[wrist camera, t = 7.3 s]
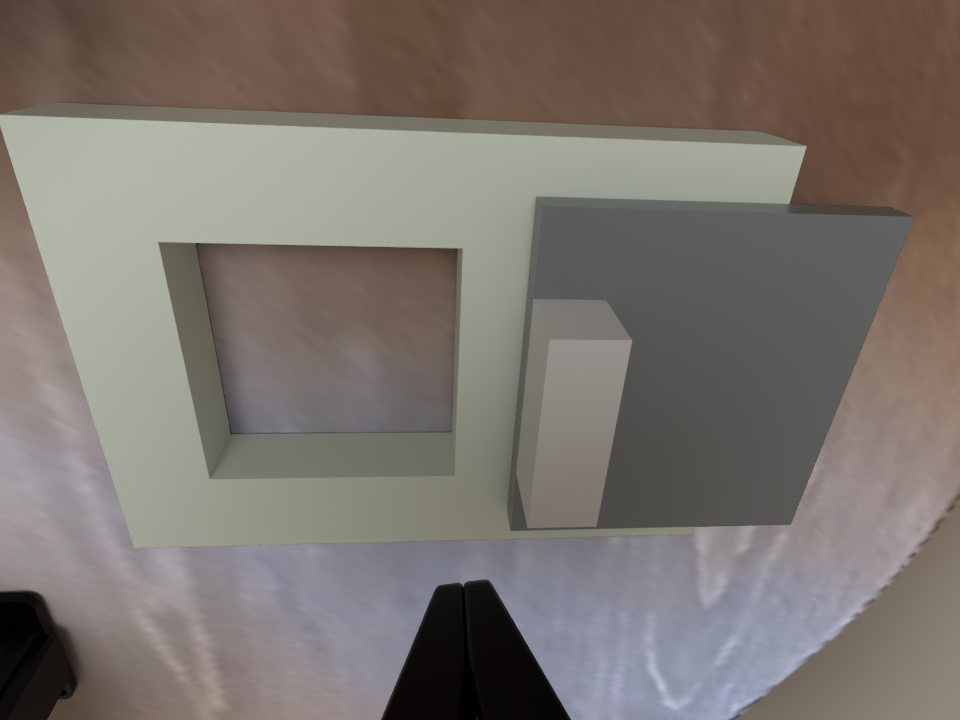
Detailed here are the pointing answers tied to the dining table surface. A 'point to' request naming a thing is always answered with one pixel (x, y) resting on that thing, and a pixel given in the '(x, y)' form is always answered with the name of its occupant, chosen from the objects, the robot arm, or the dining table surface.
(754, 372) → the sliding cover
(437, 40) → the dining table surface
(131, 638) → the dining table surface
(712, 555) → the dining table surface
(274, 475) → the puzzle board
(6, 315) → the dining table surface
